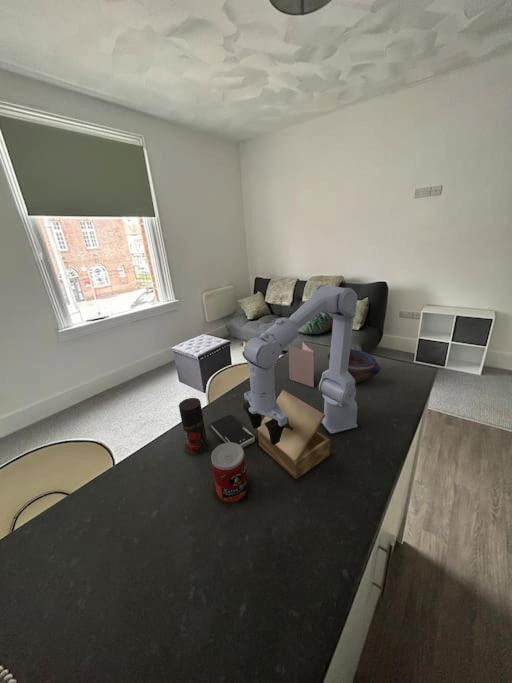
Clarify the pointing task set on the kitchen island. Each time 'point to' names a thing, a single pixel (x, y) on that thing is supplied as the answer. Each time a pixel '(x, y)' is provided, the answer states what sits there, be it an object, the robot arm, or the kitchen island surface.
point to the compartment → (307, 460)
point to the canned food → (229, 471)
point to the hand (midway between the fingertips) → (266, 434)
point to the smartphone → (232, 431)
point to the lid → (295, 424)
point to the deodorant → (193, 425)
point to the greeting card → (301, 365)
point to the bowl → (361, 365)
